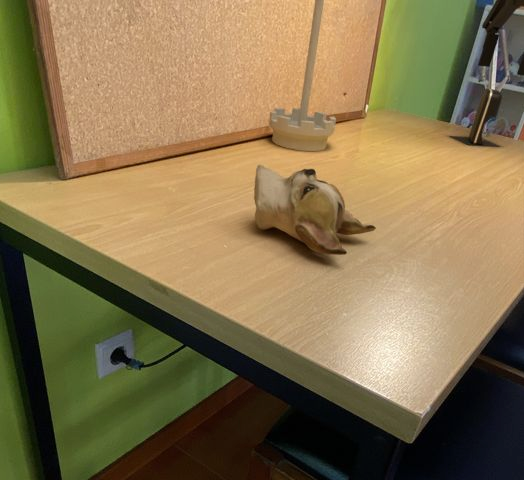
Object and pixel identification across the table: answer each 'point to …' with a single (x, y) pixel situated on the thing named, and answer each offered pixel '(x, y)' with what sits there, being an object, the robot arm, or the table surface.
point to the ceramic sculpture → (304, 209)
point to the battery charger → (485, 113)
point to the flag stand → (304, 107)
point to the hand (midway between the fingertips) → (502, 70)
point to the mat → (468, 142)
